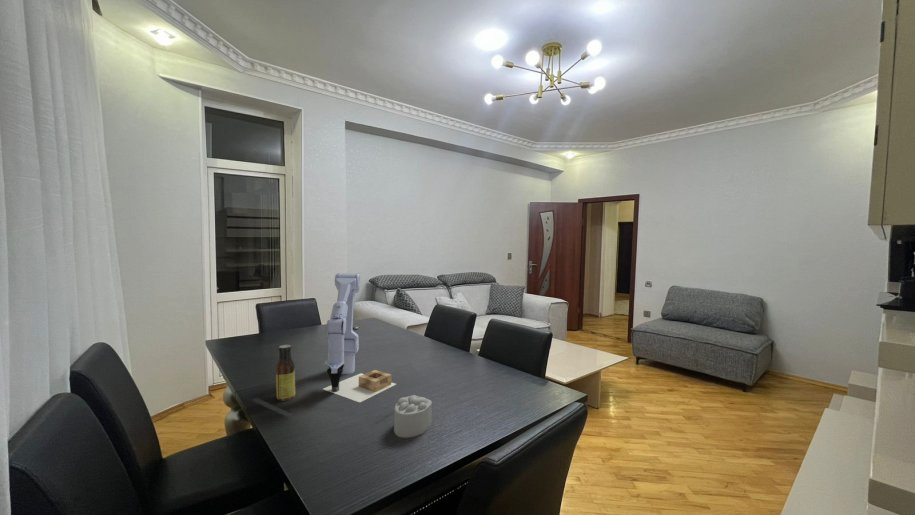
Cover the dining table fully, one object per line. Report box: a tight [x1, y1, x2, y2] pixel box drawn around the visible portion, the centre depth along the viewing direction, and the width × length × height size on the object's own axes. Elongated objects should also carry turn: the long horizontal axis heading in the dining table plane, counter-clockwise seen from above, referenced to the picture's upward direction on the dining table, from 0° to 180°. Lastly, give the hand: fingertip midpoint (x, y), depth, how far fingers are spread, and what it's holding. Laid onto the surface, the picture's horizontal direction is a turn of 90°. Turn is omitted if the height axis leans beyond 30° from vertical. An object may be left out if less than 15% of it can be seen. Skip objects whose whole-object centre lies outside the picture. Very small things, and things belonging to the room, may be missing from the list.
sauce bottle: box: [275, 344, 296, 402], centre depth 131 cm, size 7×6×20 cm
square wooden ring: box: [359, 369, 392, 392], centre depth 144 cm, size 9×9×4 cm
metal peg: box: [331, 385, 339, 393], centre depth 138 cm, size 3×3×8 cm
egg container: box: [393, 394, 433, 438], centre depth 115 cm, size 10×13×9 cm
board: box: [322, 373, 397, 403], centre depth 142 cm, size 20×20×1 cm
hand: (335, 385), depth 138 cm, fingers closed on metal peg, 3 cm apart
